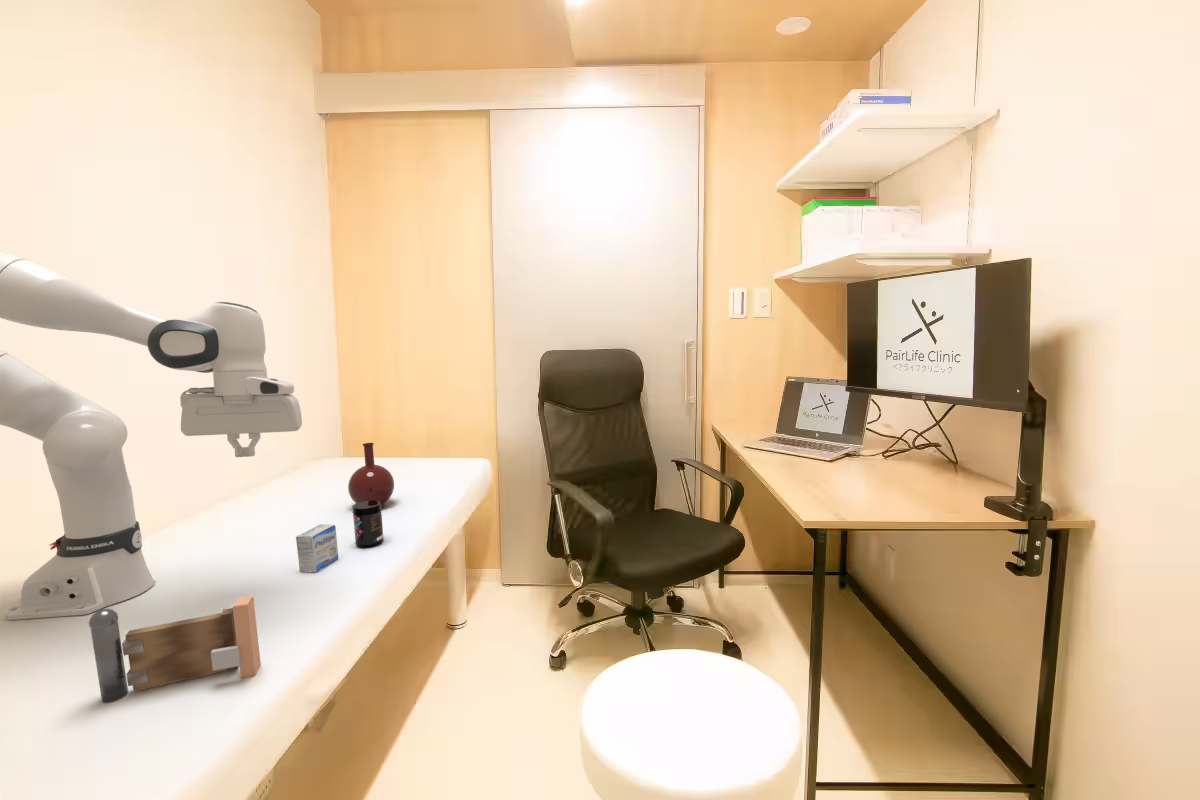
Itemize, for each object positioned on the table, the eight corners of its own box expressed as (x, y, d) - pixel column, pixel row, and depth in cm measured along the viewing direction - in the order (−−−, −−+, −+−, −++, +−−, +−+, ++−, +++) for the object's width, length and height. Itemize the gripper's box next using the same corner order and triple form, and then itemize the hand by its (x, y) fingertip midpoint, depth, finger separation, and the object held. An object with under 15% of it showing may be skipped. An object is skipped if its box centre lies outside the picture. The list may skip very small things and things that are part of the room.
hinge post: (96, 705, 80) (82, 617, 78) (108, 691, 83) (95, 606, 81) (122, 700, 81) (109, 613, 79) (133, 686, 84) (121, 603, 82)
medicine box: (315, 573, 123) (312, 536, 122) (298, 572, 124) (295, 535, 123) (339, 558, 131) (336, 524, 129) (322, 557, 131) (319, 523, 130)
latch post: (214, 685, 84) (205, 612, 82) (223, 671, 88) (214, 601, 86) (253, 678, 86) (245, 606, 84) (260, 664, 89) (253, 595, 88)
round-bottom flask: (359, 501, 175) (354, 440, 173) (400, 499, 176) (396, 438, 174) (343, 514, 162) (337, 449, 160) (388, 512, 163) (383, 447, 161)
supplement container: (364, 538, 143) (361, 500, 142) (388, 538, 143) (385, 500, 141) (350, 548, 137) (346, 508, 135) (375, 549, 136) (372, 509, 135)
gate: (128, 692, 82) (120, 634, 81) (133, 685, 84) (125, 628, 83) (237, 668, 88) (230, 613, 86) (239, 661, 89) (233, 607, 88)
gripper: (171, 388, 101) (175, 462, 102) (293, 385, 106) (296, 455, 107) (187, 387, 107) (192, 457, 108) (302, 384, 112) (305, 451, 113)
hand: (245, 456), depth 107 cm, fingers closed
